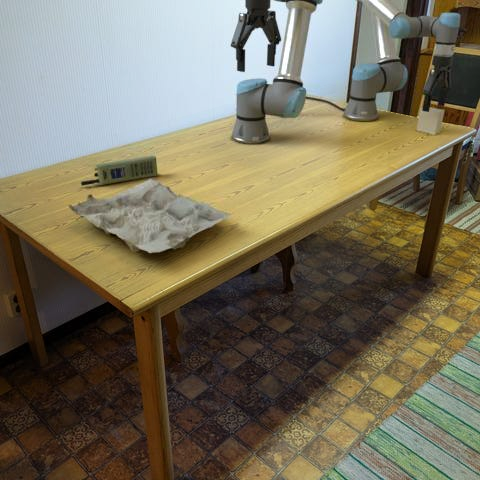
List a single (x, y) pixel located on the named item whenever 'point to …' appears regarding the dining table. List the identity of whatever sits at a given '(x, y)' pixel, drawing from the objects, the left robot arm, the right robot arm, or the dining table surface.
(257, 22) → the left robot arm
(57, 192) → the dining table surface
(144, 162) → the handheld radio
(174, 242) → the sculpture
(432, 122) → the brick
